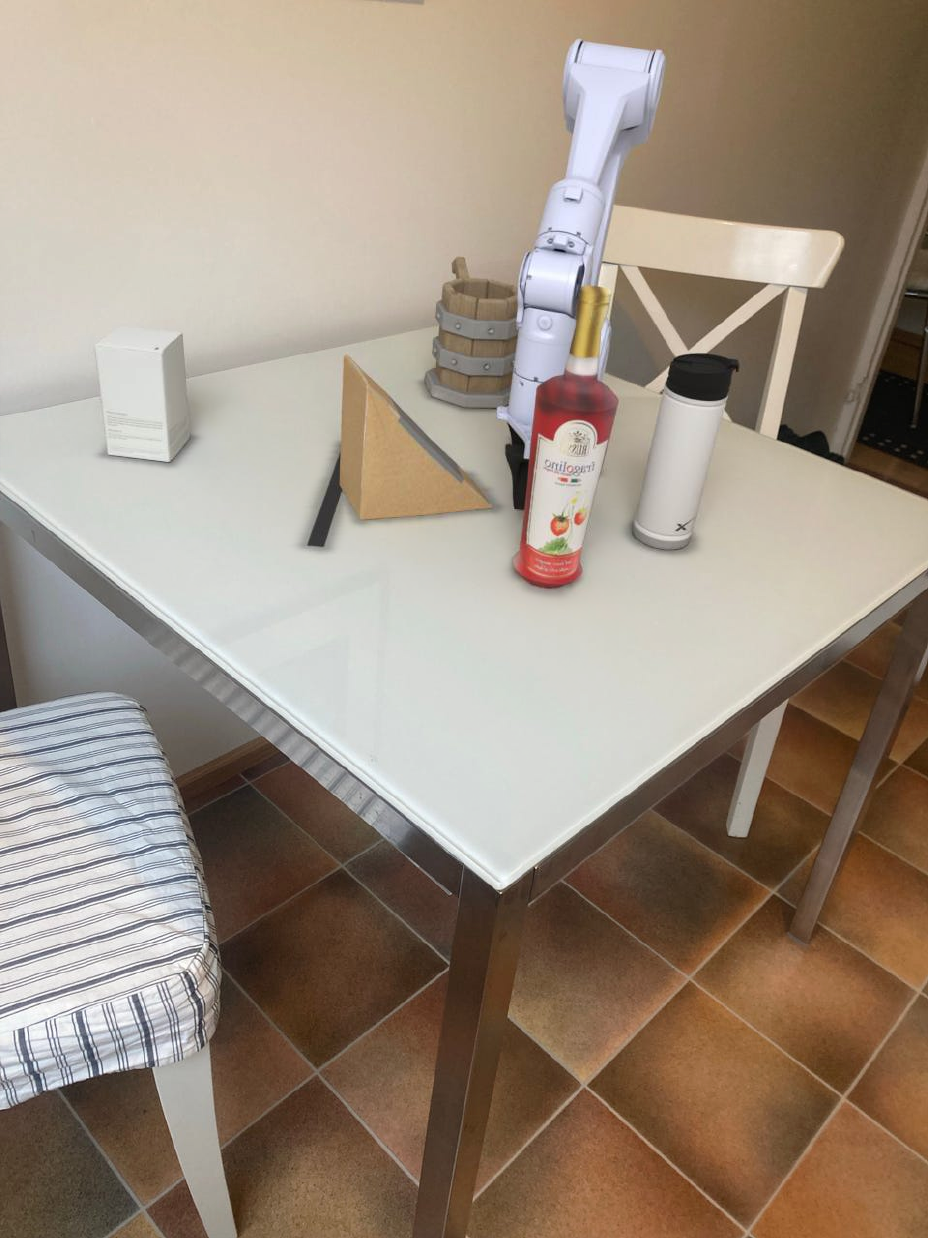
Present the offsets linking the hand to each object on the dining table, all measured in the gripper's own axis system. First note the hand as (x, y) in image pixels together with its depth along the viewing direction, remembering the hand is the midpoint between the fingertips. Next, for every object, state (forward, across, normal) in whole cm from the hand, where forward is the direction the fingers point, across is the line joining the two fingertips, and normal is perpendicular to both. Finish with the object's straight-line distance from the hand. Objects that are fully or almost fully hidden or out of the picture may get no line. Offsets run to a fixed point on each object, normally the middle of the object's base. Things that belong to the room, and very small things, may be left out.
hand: (523, 492), depth 108 cm
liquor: (+2, +14, +2) cm, 14 cm away
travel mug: (+2, +3, +15) cm, 16 cm away
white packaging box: (+2, -5, -43) cm, 43 cm away
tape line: (+2, +1, -21) cm, 21 cm away
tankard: (+2, -37, -8) cm, 38 cm away
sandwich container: (+2, 0, -12) cm, 12 cm away
